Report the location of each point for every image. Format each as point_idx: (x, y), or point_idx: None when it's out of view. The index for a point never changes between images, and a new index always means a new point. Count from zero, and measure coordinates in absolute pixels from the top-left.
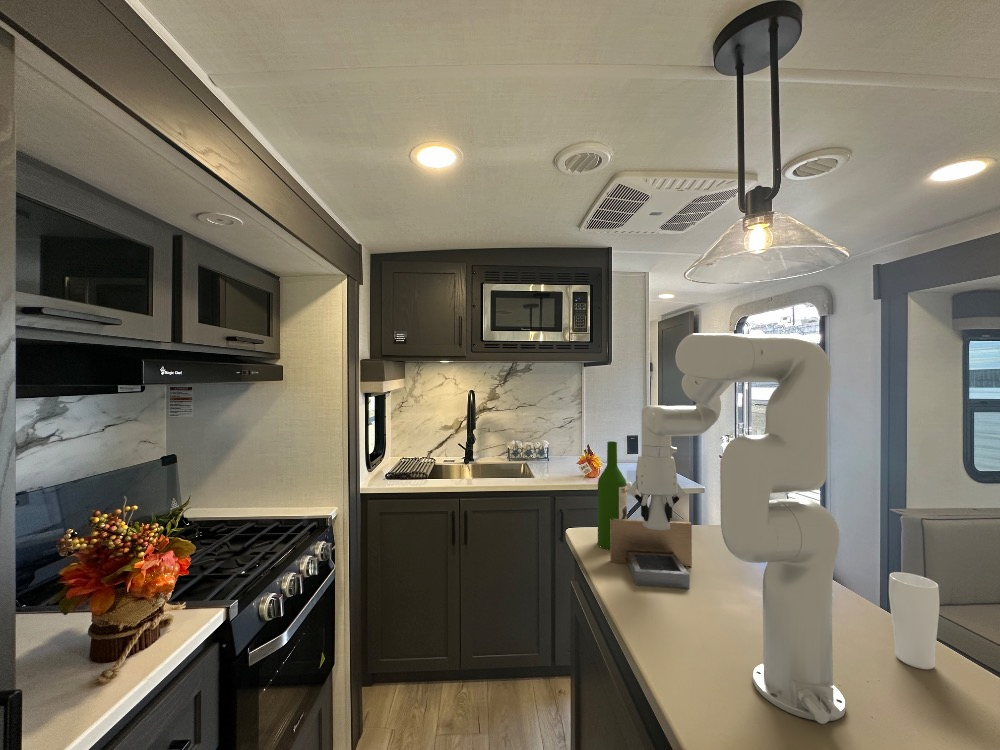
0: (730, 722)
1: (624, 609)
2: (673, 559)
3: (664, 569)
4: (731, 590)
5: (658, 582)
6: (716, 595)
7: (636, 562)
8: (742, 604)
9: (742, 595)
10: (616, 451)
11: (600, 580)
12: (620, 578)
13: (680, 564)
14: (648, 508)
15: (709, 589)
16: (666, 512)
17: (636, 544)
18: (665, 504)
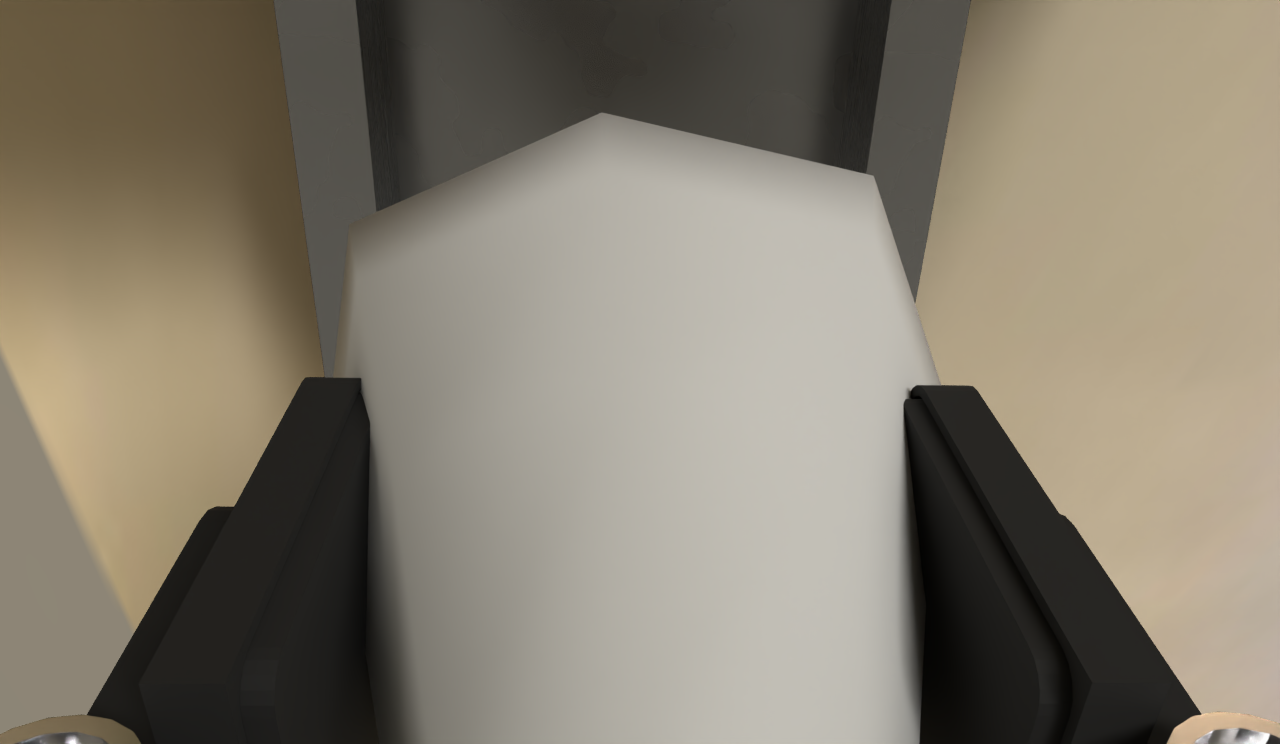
0: None
1: None
2: (885, 42)
3: (735, 55)
4: (1225, 363)
5: None
6: (1031, 461)
7: (360, 210)
8: (1146, 565)
9: (1254, 437)
10: None
11: (15, 308)
12: (217, 240)
13: (907, 203)
14: (384, 728)
15: (1033, 367)
16: (920, 734)
17: None
18: (1072, 725)
